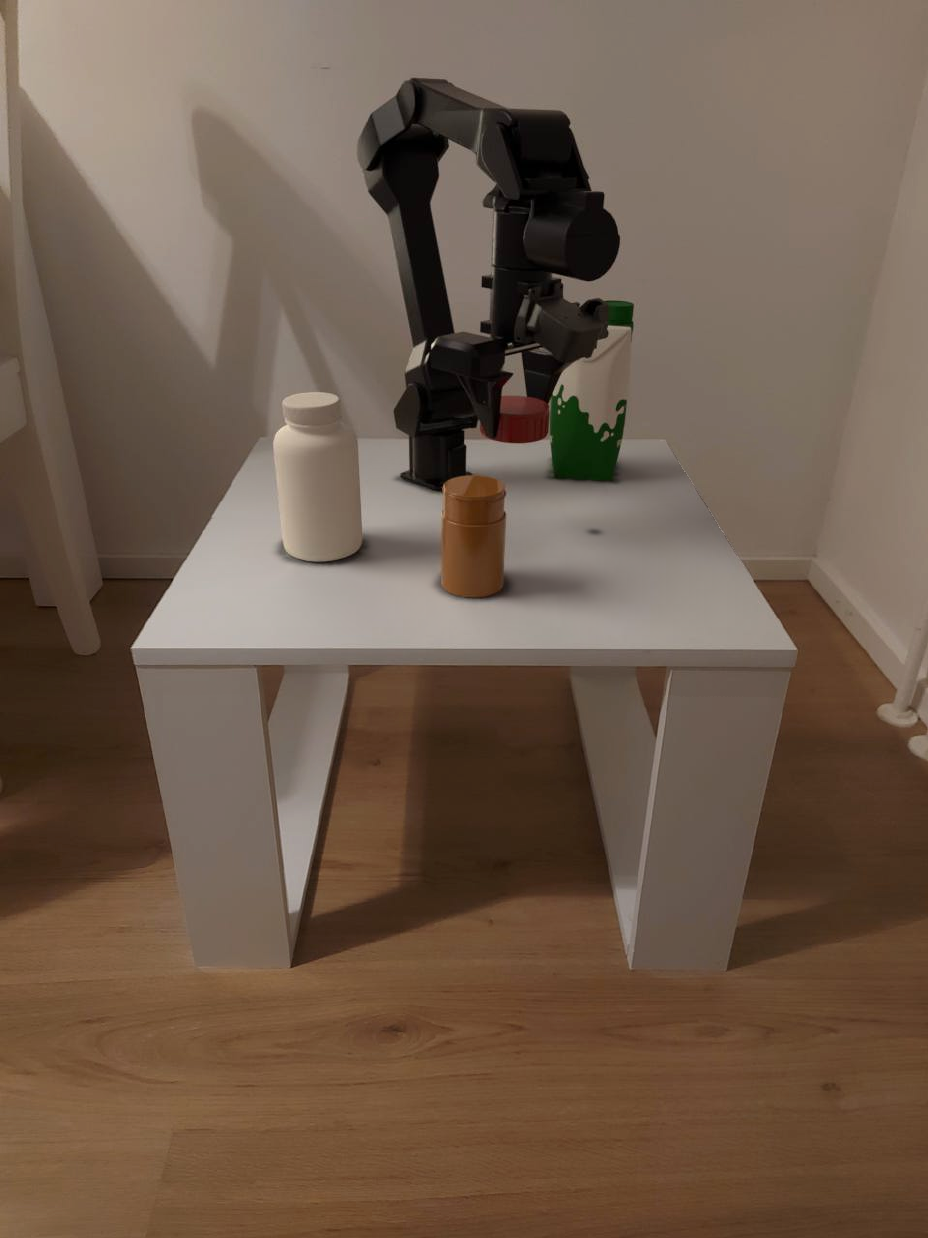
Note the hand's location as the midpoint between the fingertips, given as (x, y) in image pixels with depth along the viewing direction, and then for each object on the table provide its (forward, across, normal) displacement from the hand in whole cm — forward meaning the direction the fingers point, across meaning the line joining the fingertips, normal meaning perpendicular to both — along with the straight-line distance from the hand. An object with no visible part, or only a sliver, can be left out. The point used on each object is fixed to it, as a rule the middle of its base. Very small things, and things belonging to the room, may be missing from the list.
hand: (513, 429), depth 88 cm
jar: (+10, -13, -7) cm, 18 cm away
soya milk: (+11, +20, +5) cm, 23 cm away
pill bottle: (+11, -18, +9) cm, 23 cm away
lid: (0, 0, 0) cm, 0 cm away
